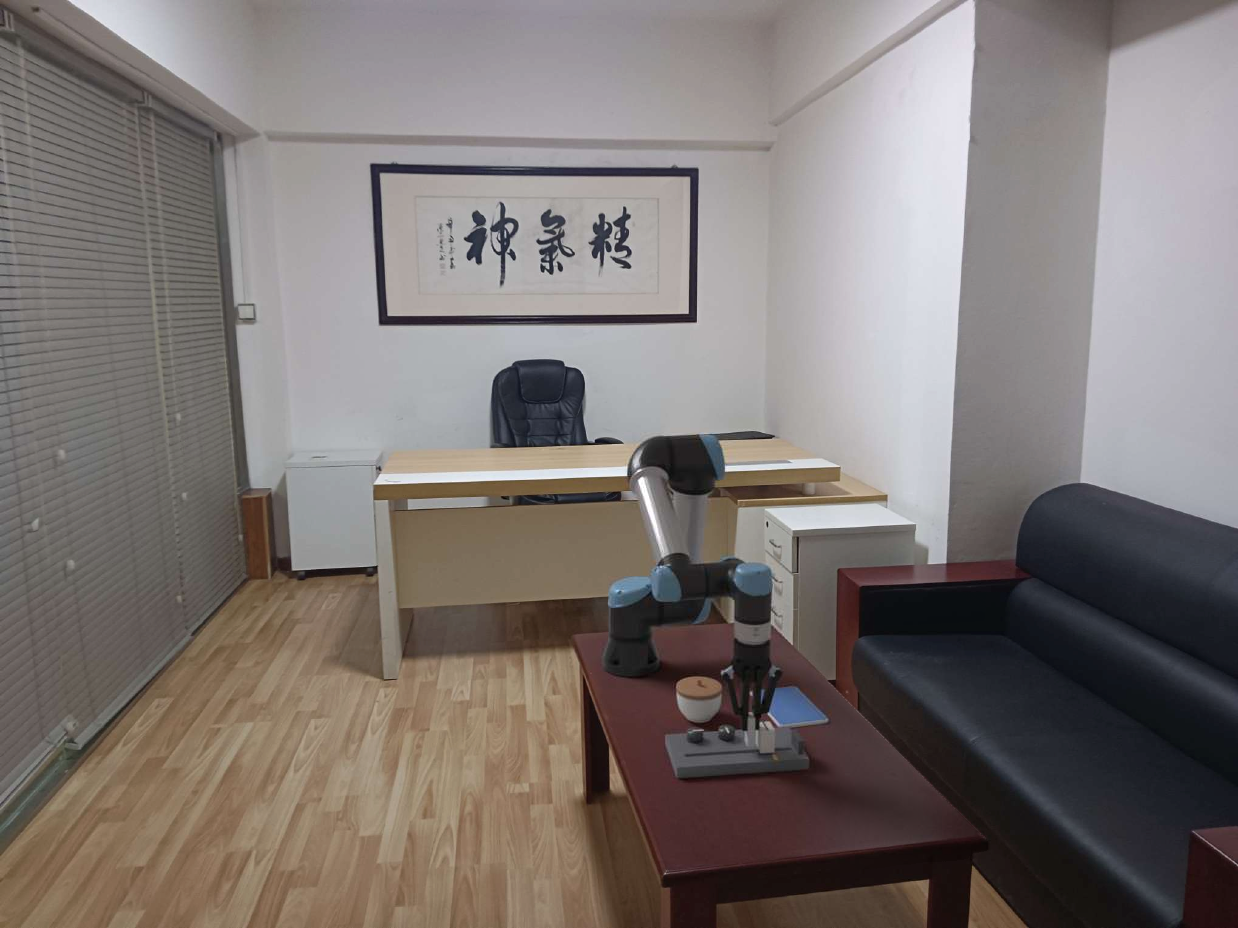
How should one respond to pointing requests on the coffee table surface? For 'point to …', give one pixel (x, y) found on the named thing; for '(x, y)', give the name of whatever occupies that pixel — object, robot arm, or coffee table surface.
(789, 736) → the console
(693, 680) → the lidded jar
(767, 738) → the fader tab
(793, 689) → the tablet computer
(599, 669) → the coffee table surface
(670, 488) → the robot arm
